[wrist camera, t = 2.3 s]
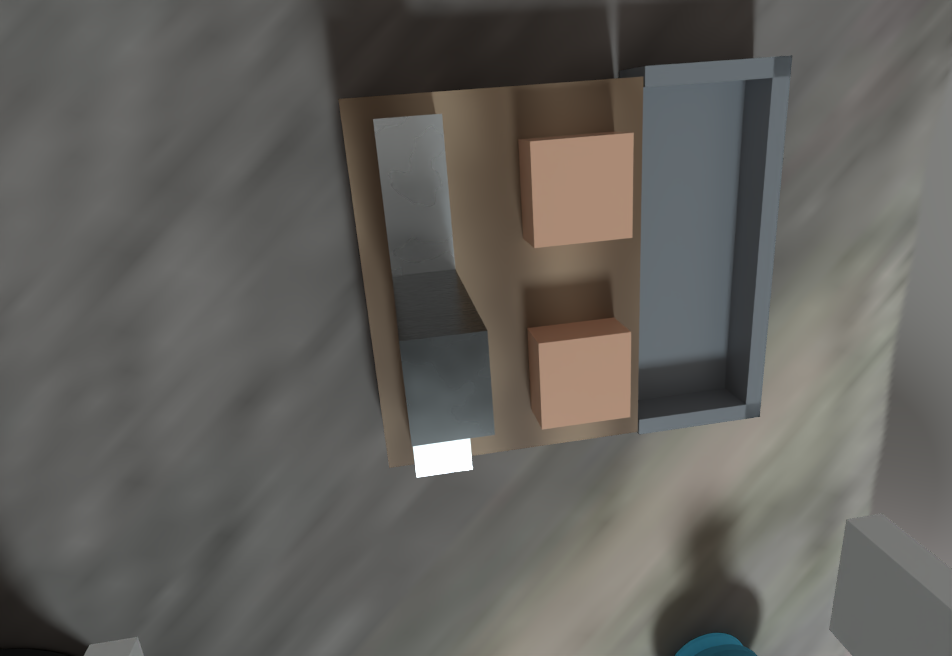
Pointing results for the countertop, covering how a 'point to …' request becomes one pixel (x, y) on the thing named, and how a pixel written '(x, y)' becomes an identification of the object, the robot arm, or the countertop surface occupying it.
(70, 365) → the countertop surface
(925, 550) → the robot arm
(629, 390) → the tile
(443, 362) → the grey bar
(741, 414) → the tray
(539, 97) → the board
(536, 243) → the tile
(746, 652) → the perfume bottle
